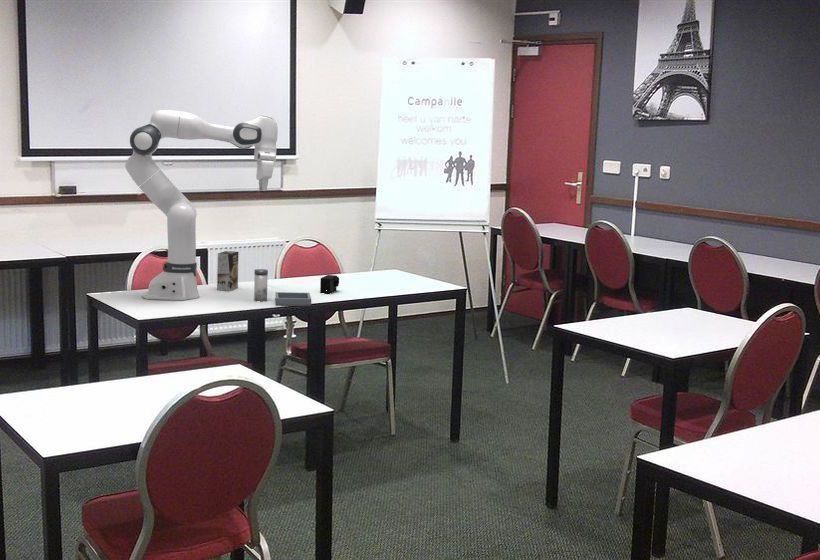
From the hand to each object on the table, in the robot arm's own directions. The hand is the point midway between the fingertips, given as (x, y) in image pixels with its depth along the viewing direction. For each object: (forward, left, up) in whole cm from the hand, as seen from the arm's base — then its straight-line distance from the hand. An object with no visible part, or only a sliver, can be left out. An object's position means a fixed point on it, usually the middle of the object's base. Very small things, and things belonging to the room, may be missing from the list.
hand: (262, 190), depth 391 cm
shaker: (0, -6, -45) cm, 45 cm away
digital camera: (+30, +16, -45) cm, 56 cm away
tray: (+13, -10, -45) cm, 47 cm away
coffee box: (-14, +20, -45) cm, 51 cm away
